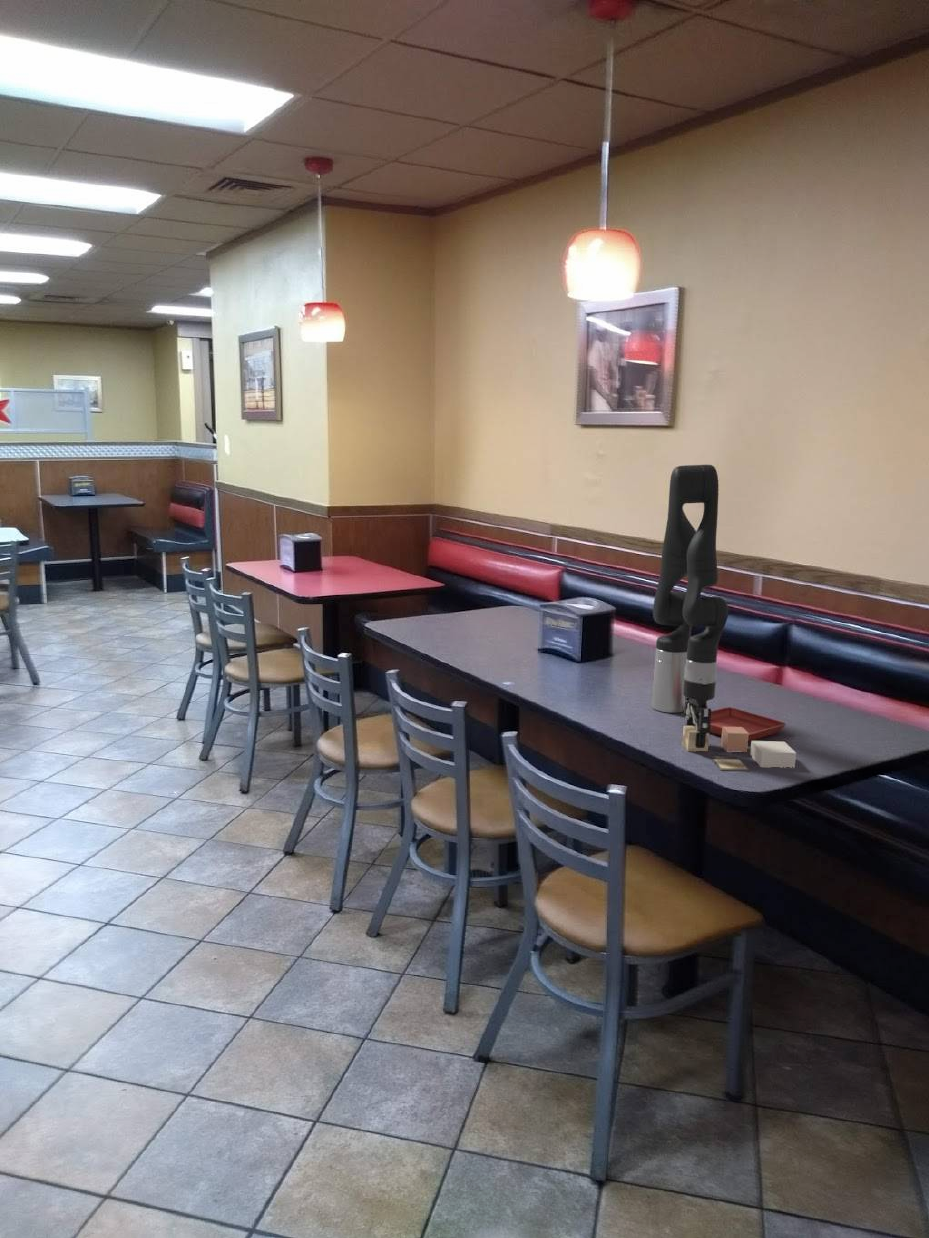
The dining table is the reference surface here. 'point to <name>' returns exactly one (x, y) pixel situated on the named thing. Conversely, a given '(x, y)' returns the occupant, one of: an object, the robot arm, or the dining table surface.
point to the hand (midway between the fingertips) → (694, 741)
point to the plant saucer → (744, 722)
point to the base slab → (773, 754)
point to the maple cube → (692, 739)
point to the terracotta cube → (734, 739)
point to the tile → (730, 764)
